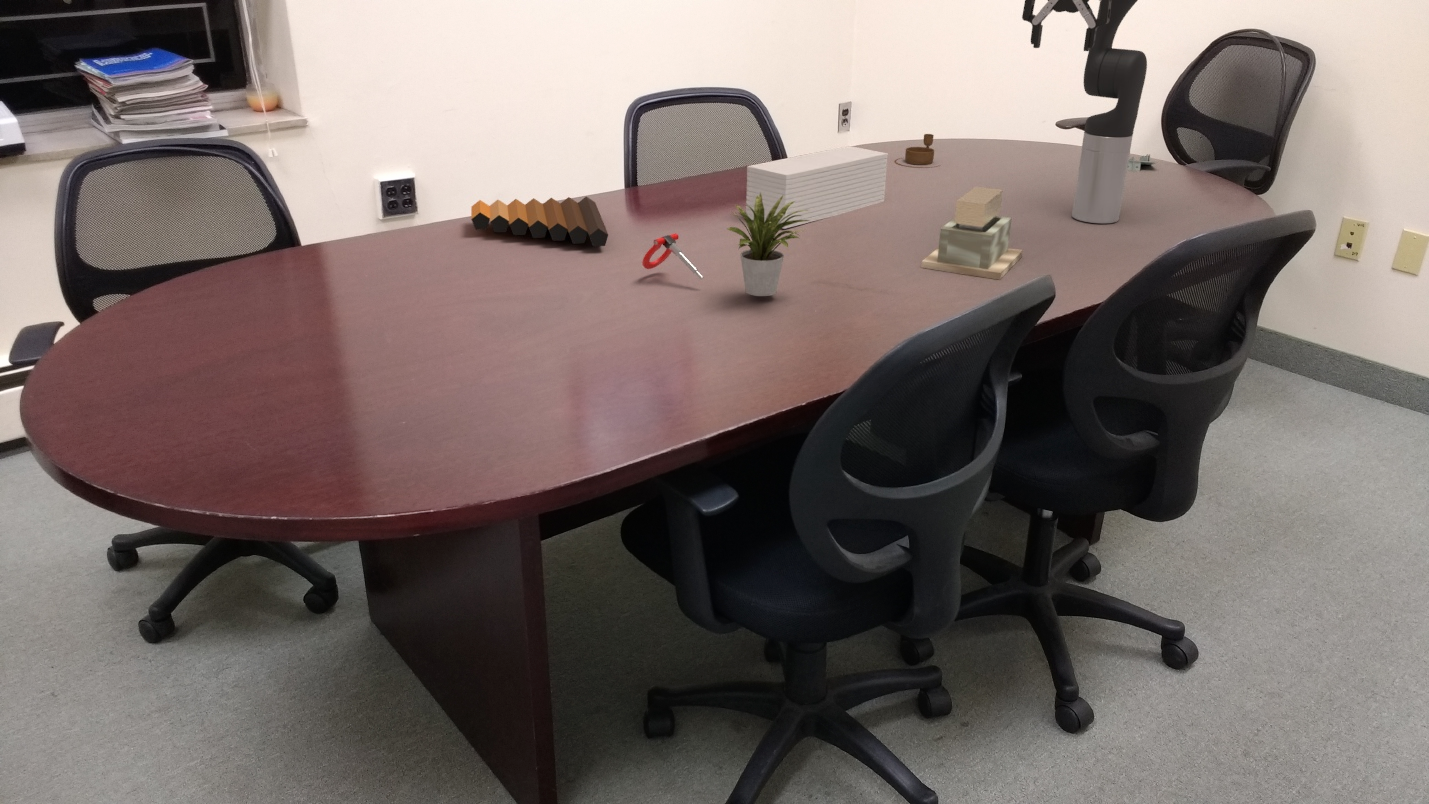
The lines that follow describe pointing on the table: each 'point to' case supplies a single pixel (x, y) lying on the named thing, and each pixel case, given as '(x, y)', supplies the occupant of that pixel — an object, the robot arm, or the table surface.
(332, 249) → the table surface
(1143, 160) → the metal bracket
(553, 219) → the pan flute
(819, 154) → the stack of papers
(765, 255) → the house plant
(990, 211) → the two-tone square post
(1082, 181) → the robot arm
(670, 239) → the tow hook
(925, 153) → the place setting
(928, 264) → the grey open box
